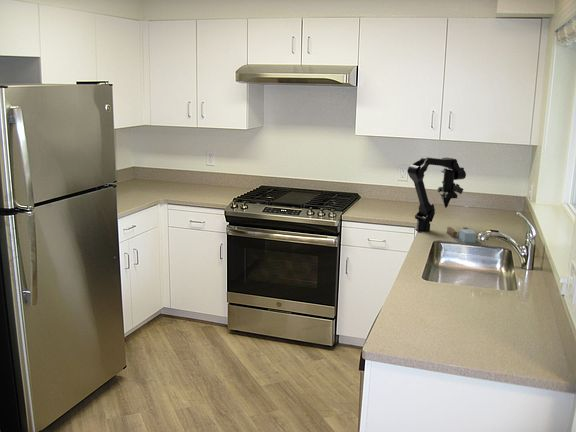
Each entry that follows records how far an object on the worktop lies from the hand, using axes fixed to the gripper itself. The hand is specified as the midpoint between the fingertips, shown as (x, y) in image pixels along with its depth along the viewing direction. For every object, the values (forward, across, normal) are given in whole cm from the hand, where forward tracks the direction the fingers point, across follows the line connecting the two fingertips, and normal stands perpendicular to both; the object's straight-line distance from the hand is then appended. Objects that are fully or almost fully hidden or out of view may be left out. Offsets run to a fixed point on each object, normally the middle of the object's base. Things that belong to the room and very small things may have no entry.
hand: (445, 207), depth 339 cm
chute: (+12, -16, -4) cm, 20 cm away
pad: (+12, -27, -5) cm, 30 cm away
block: (+12, -26, -5) cm, 29 cm away
